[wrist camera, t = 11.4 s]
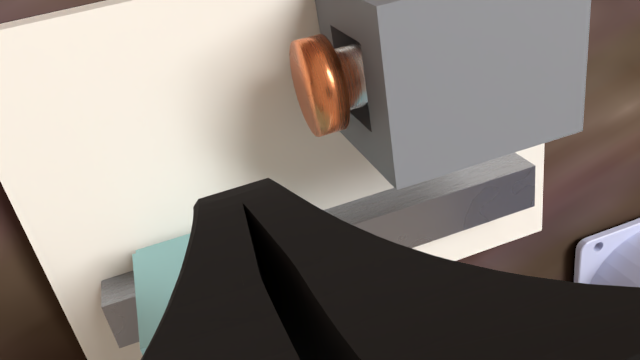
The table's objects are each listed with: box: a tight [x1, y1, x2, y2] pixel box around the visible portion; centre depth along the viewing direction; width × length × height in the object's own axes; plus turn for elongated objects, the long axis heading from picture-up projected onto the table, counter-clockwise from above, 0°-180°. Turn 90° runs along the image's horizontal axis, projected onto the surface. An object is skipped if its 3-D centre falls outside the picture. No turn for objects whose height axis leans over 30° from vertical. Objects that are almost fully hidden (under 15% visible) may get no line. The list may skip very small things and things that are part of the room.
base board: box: [0, 0, 544, 360], centre depth 21 cm, size 19×13×1 cm
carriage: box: [132, 234, 190, 355], centre depth 18 cm, size 4×5×5 cm
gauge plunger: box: [289, 34, 368, 137], centre depth 17 cm, size 6×3×3 cm, turn 100°
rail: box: [101, 153, 536, 348], centre depth 21 cm, size 16×2×2 cm, turn 100°
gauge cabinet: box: [315, 0, 591, 190], centre depth 18 cm, size 6×5×5 cm
